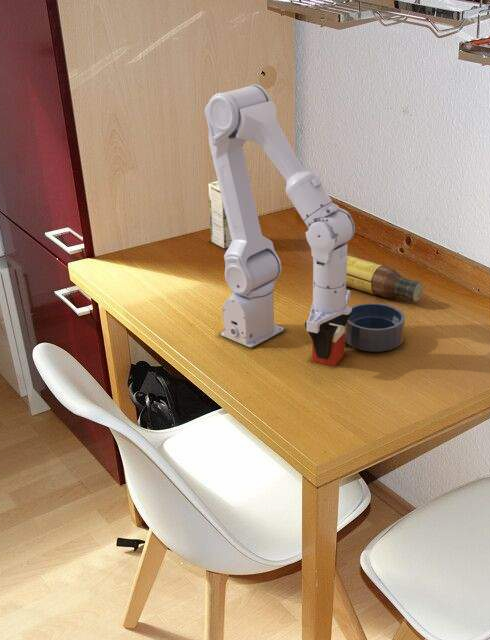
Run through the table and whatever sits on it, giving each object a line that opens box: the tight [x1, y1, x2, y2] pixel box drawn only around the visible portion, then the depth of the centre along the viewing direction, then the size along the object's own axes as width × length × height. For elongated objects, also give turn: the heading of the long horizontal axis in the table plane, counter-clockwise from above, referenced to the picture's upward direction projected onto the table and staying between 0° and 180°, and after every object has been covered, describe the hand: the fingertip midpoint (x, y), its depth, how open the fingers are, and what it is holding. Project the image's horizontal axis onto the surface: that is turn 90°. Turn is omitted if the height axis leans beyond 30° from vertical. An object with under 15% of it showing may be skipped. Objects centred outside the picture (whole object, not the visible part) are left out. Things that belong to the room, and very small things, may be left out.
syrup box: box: [207, 180, 232, 250], centre depth 192 cm, size 6×6×14 cm
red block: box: [311, 323, 346, 367], centre depth 148 cm, size 4×4×6 cm
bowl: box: [344, 302, 406, 353], centre depth 154 cm, size 11×11×5 cm
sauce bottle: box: [346, 255, 424, 302], centre depth 172 cm, size 7×6×20 cm
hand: (328, 351), depth 149 cm, fingers closed on red block, 4 cm apart
